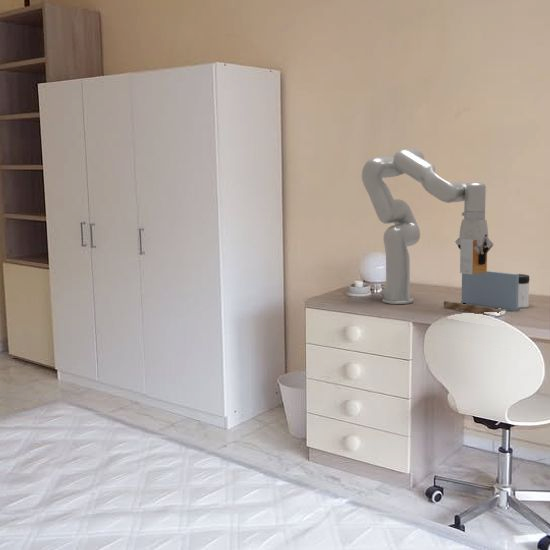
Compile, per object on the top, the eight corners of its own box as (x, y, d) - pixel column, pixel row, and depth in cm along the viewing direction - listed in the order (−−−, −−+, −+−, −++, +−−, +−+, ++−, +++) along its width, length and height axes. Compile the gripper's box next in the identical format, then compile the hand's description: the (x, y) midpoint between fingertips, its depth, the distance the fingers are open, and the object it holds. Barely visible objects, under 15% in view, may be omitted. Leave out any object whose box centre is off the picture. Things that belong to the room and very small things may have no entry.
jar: (512, 308, 275) (513, 277, 273) (501, 304, 283) (502, 274, 281) (533, 307, 277) (534, 276, 275) (522, 303, 285) (522, 273, 283)
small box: (472, 275, 266) (473, 240, 263) (459, 273, 271) (460, 238, 269) (487, 272, 270) (488, 238, 268) (474, 270, 275) (474, 236, 273)
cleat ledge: (443, 307, 280) (443, 301, 280) (445, 307, 281) (445, 300, 281) (498, 316, 262) (498, 310, 262) (500, 316, 263) (500, 309, 263)
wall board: (461, 303, 288) (461, 268, 286) (465, 302, 290) (466, 267, 288) (515, 311, 270) (516, 274, 268) (519, 310, 272) (520, 273, 270)
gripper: (449, 215, 271) (448, 262, 274) (489, 217, 258) (487, 266, 261) (460, 214, 276) (460, 260, 279) (500, 216, 263) (499, 264, 266)
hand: (473, 263), depth 270 cm, fingers closed on small box, 6 cm apart
